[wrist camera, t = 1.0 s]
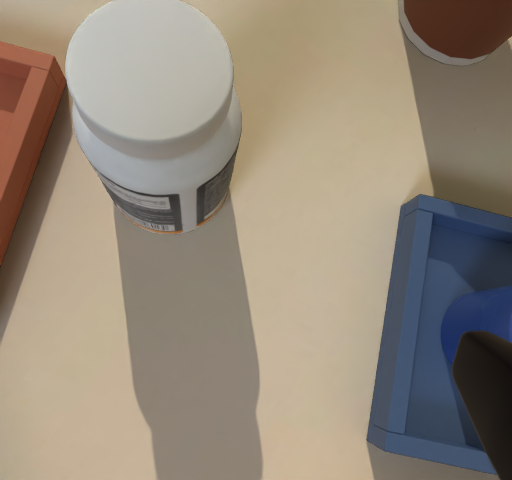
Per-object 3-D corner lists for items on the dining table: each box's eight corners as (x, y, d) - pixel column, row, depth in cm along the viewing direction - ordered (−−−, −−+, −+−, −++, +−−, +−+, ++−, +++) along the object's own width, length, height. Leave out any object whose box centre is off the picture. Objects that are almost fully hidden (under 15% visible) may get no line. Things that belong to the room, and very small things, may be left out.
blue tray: (557, 481, 22) (594, 495, 20) (365, 440, 21) (384, 451, 19) (569, 249, 24) (603, 240, 22) (400, 205, 24) (419, 193, 22)
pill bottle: (193, 109, 23) (192, -52, 14) (249, 205, 23) (290, 106, 13) (88, 158, 22) (7, 17, 12) (144, 260, 21) (104, 195, 12)
